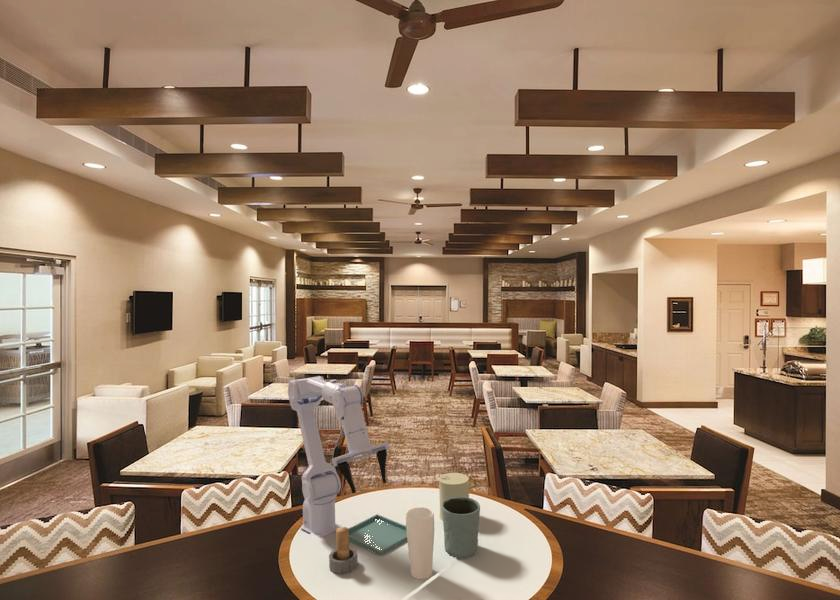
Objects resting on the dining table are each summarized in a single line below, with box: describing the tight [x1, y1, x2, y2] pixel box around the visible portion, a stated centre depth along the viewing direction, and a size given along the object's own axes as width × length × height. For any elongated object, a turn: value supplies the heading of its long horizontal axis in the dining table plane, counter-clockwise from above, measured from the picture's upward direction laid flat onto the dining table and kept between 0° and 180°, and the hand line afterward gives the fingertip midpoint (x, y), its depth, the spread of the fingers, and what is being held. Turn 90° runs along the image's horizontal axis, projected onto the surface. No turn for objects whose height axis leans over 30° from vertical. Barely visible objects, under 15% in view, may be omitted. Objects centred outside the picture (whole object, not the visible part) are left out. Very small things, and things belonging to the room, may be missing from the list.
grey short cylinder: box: [328, 547, 359, 575], centre depth 121 cm, size 7×7×3 cm
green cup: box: [442, 497, 481, 559], centre depth 128 cm, size 10×10×12 cm
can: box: [438, 472, 470, 521], centre depth 147 cm, size 9×9×12 cm
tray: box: [348, 513, 408, 556], centre depth 136 cm, size 16×14×2 cm
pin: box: [335, 526, 350, 561], centre depth 121 cm, size 3×3×9 cm
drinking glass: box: [405, 506, 435, 580], centre depth 117 cm, size 7×7×15 cm
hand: (369, 488), depth 119 cm, fingers open, 7 cm apart
